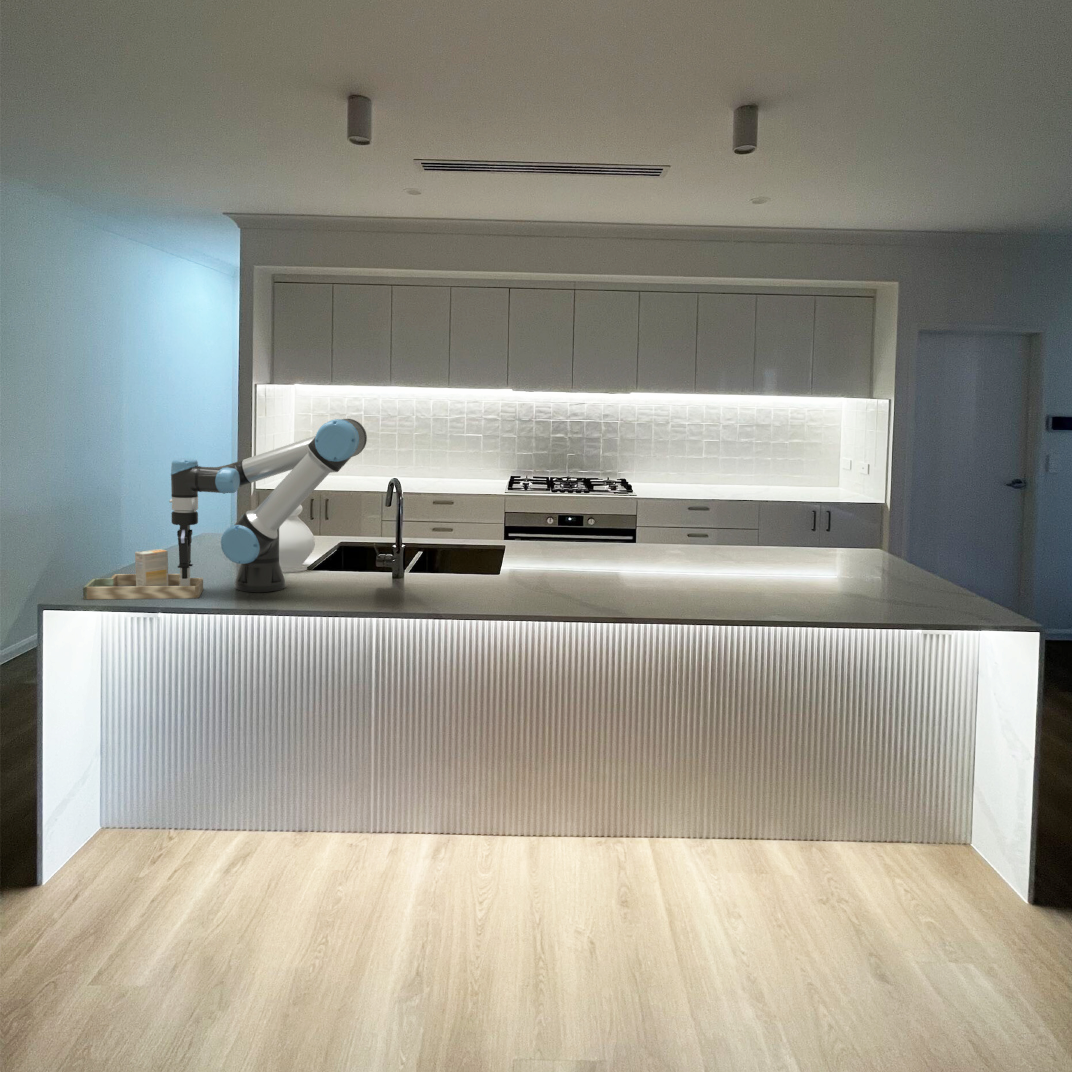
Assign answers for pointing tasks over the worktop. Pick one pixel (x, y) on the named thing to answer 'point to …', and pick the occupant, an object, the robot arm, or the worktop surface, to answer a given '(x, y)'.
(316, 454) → the robot arm
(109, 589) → the tray
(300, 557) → the decorative vase
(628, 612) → the worktop surface
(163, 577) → the supplement box
